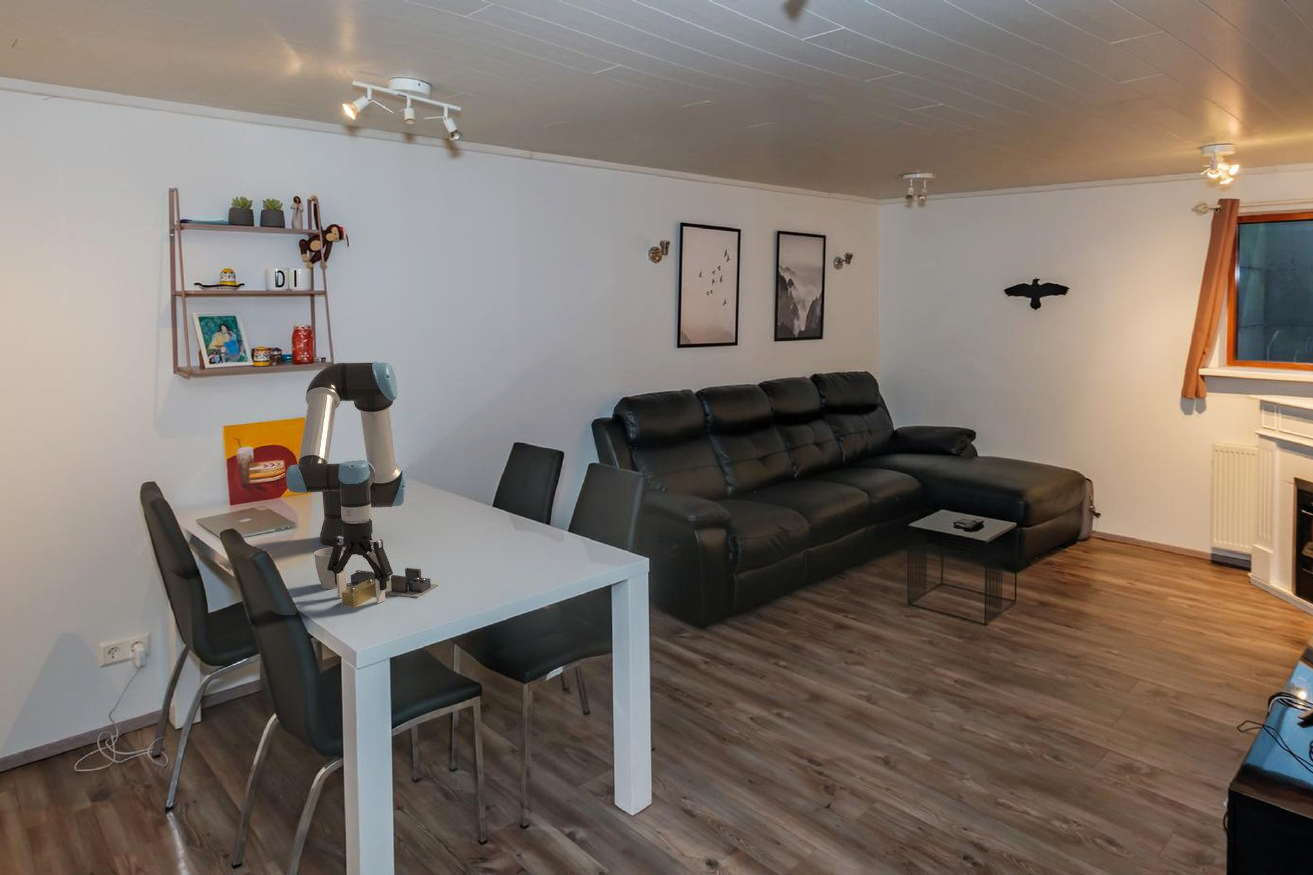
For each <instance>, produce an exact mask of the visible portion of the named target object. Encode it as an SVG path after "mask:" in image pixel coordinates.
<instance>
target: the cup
mask: <svg viewBox="0 0 1313 875" xmlns="http://www.w3.org/2000/svg"><path fill="white" fill-rule="evenodd" d="M333 547H334V546H333ZM333 547H324V548H321V549H320V548H319V549H317V550H315V551H314V552H313V555H314V556H313V557H314V561H315V562H314V563H315V568H316V572H317V578H318V580H319V582H320V585H321V587H322V588H323V589H327V590H331V589H337V585H336V584H335V574H334V573H333V571H329V570H328V569H327V568H328V564H329V561H330V557H331V554H332V550H333ZM344 550H345V548H344V547H343V548H342V552H341V555H340V558H341V557H342V555H343V552H344ZM339 560H340V559H339ZM345 570H346V566H345V567H344V569H343V571H344V572H346V571H345ZM343 571H342V572H343Z"/></svg>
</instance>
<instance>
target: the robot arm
mask: <svg viewBox="0 0 1313 875" xmlns="http://www.w3.org/2000/svg"><path fill="white" fill-rule="evenodd" d="M397 398H398V386H397V379H396V375H395V370H394V368H393V367H392V365H391V364H390V363H388V362H378V361H373V362H337V363H333V364H330V365H328V366H326V367H325V368H323V369H322V370H320V371H319V372H318V373H317V374H316V375H315V376H314V377H313V379H312V380H311V381H310V383H309V384H308V387H307V389H306V393H305V402H306V404H307V410H306V416H305V422H304V426H303V431H302V432H303V433H302V437H301V438H302V439H301V444H300V449H299V455H298V460H297V463H298V464H293V465H292V464H291V465H289V466H288V467H287V470H286V476H285V478H286V479H285V480H286V485H287V486H286V488H287V489H288V491H289V492H291V493H297V494H299V493H300V494H301V493H302V494H308V493H321V492H322V504H323V522H322V526H321V530H320V533H319V541H320V543H321V544H322V545H327V546H333V550H332V554H331V557H330V561H329V564H328V568H327V569H328V570H329V571H333V573H334V574H335V584H336V585H337V588H336V589H337V599H342V592H343V591H345V590H347V587H346V585H347V574H346V571H343V569H344V567H345V568H346V565H347V564H348V562H349V561H350V559H351V557H352V555H355V556H356V555H357V556H362V558H364V560H366V561H367V563H368V564H369V566H370V568H371V569H372V572H373V573H374V572H375V574H376V576H377V577H378V578H377V579H375V582H376V596H375V598H376V603H377V604H380V603H382V602H384V601H386V594H385V589H386V588H387V580H386V578H387V577H388V576H390V577H391V576H392V575H394V572H393V569H392V567H391V564H390V562H389V559H388V556H387V553H386V551H385V548H384V541H383V539H378V540H373V538H372V534H373V531H374V530H373V520H372V517H373V516H372V514H373V513H372V508H374V509H375V508H393V507H400V506H402V505H403V504H404V502H405V494H406V482H407V481H406V479H407V478H406V477H407V473H406V471H403V470H401V467H400V465H399V464H398V463H396V457H395V450H394V449H395V448H394V441H393V440H394V439H393V433H392V431H393V430H392V425H391V424H392V423H391V414H390V408H391V407H392V406H393V403H394V401H396V400H397ZM341 402H353V404H354V407H355V408H356V410H357V411H359V412H360V417H361V425H362V432H363V440H364V447H365V454H366V460H364V459H363V460H362V459H360V460H359V459H358V460H348V461H344V462H341V463H339V462H338V463H329V458H330V451H331V450H330V449H331V444H332V436H333V430H334V429H333V428H334V423H335V415H336V410H337V408H338V407H339V406H340V404H341ZM344 546H345V548H344ZM342 548H344V549H345V550H344V552H343V555H342V557H341V558H340V555H341V552H342ZM339 559H340V560H339ZM342 571H343V572H342Z"/></svg>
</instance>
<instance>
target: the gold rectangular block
mask: <svg viewBox="0 0 1313 875" xmlns="http://www.w3.org/2000/svg"><path fill="white" fill-rule="evenodd" d="M373 598H376V582H375V580H373V579H368V580H366V581H364V582H362V583H360V584H358V585H356V586H353V587H351V588H349V589H347V590H345V591H343V592H342V597H341V603H342V604H341V605H342V606H343V607H347V608H356V607H357V606H361V605H362V604H364V603H366V602H367V601H369V600H372V599H373Z"/></svg>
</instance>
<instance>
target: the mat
mask: <svg viewBox="0 0 1313 875" xmlns="http://www.w3.org/2000/svg"><path fill="white" fill-rule="evenodd" d="M407 585H408V592H407V593H400V592H392V589H391V578H390V581H388V582H387V588H386V589H385V595H391V596H396V597H397V596H399V597H407V598H416V599H418V598H421V597H422V596H423V595H426V594H427V593H428V592H431V591H432V590H434V589H435V588H437V587H439V584H437V583H436V584H435V583H431V588H429V589H428V590H426V591H424V592H422V593H418V592H410V591H409V584H407ZM353 586H356V585H355V584H351V582H350V583H348V584H346V587H347V589H349V588H351V587H353Z"/></svg>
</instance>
